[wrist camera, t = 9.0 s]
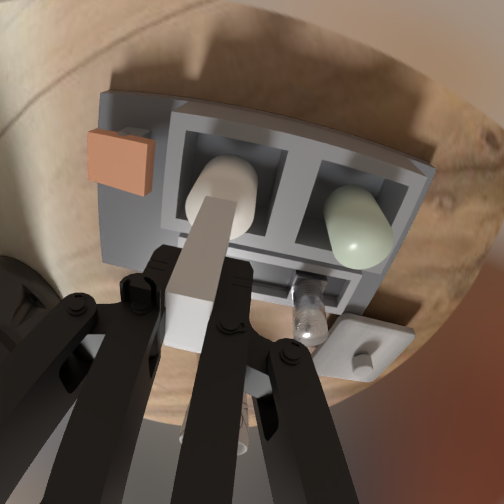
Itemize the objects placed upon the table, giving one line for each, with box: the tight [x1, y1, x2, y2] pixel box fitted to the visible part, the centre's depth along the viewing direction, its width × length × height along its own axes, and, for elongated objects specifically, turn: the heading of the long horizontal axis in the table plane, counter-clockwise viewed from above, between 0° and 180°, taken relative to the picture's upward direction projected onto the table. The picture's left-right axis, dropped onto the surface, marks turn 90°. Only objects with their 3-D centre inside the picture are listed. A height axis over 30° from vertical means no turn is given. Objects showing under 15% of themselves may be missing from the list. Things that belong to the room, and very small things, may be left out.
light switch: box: [311, 313, 415, 382], centre depth 32 cm, size 10×10×5 cm
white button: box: [185, 154, 258, 240], centre depth 18 cm, size 4×4×4 cm
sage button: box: [323, 185, 394, 269], centre depth 18 cm, size 4×4×4 cm
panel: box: [98, 90, 436, 315], centre depth 24 cm, size 26×16×6 cm, turn 78°
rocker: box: [88, 128, 156, 197], centre depth 19 cm, size 5×4×1 cm
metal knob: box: [286, 269, 328, 346], centre depth 25 cm, size 3×3×6 cm
